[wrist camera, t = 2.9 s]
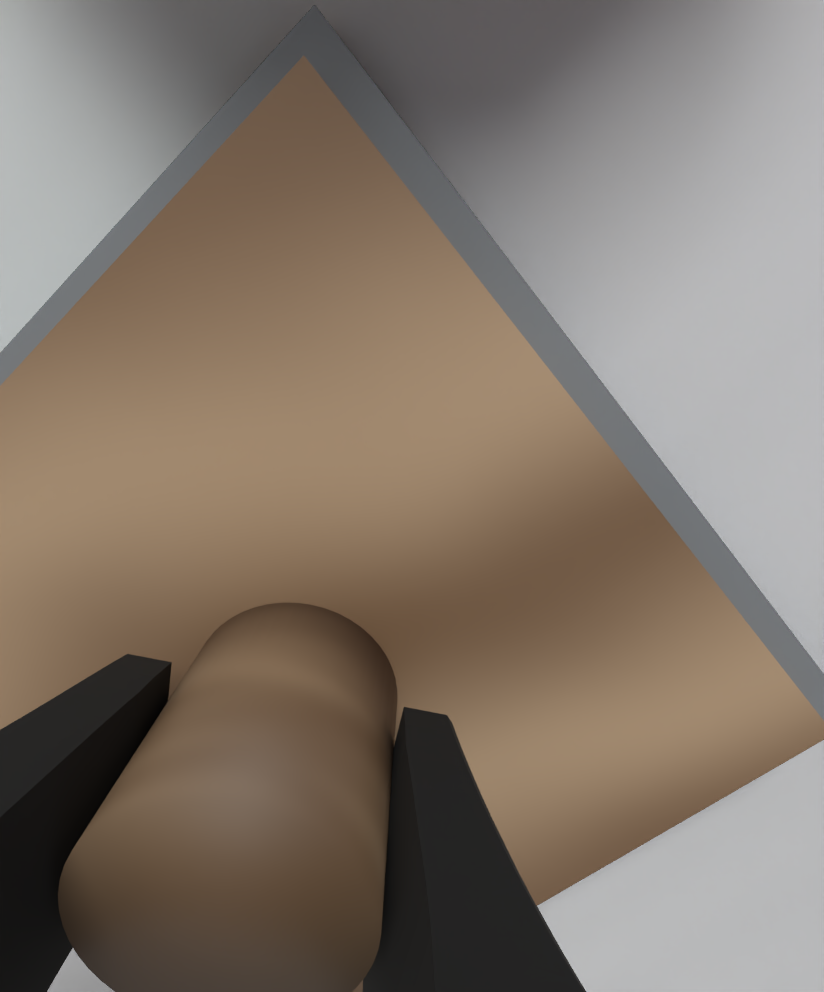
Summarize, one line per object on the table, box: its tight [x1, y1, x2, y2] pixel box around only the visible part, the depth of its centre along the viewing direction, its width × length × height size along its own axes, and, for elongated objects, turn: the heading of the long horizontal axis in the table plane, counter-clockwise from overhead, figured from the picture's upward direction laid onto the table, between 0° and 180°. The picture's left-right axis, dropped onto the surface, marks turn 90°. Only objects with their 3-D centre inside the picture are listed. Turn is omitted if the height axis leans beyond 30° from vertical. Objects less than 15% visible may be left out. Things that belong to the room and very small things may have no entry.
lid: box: [0, 56, 824, 992], centre depth 8 cm, size 12×12×4 cm
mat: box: [0, 5, 824, 720], centre depth 10 cm, size 13×13×1 cm
